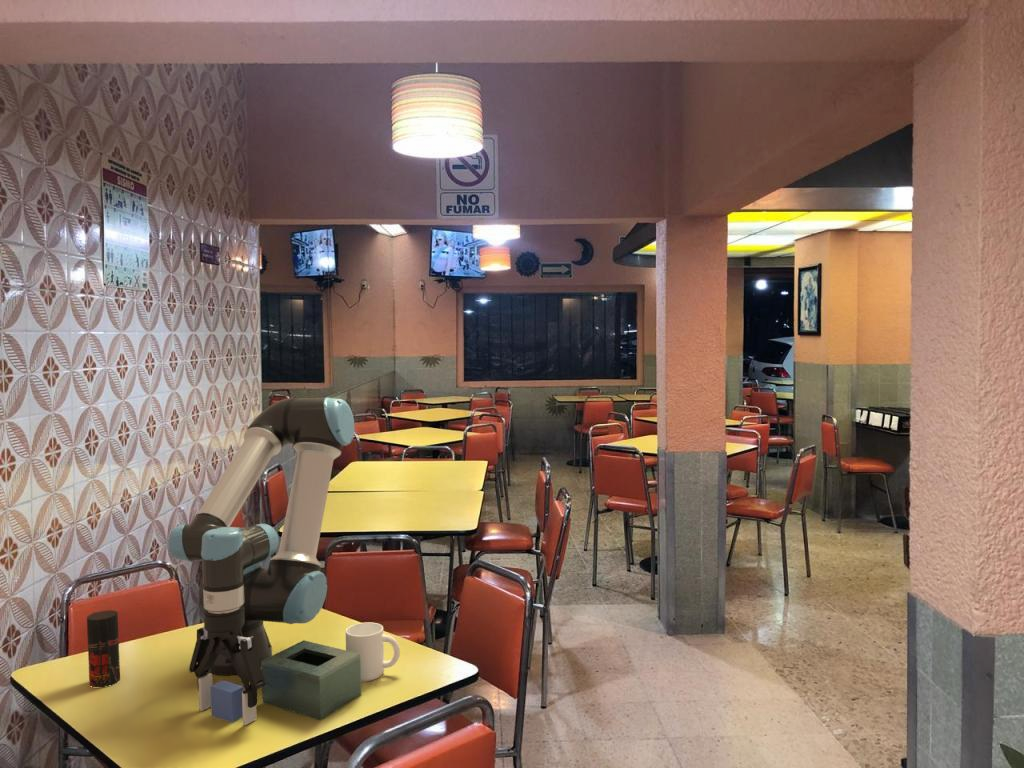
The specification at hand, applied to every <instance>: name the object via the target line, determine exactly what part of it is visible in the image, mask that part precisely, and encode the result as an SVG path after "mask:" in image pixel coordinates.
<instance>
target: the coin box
mask: <svg viewBox="0 0 1024 768" xmlns="http://www.w3.org/2000/svg"><path fill="white" fill-rule="evenodd" d="M261 669H262V673H263V676H264V679H265V683H266V685H265V686H263V687H261V692H262V693H261V695H262V697H261V700H262V703H263V704H265V705H269V706H272V707H275V708H279V709H282V710H286V711H289V712H292V713H294V714H295V713H296V714H299V715H302V716H305V717H308V718H311V719H315V720H318V721H322V720H323V719H326V718H327V717H328V716H330V715H331V714H334V713H335V712H336V711H339V710H340V709H341V708H343V707H344V706H346V705H347V704H349V703H351V702H352V701H354V700H355V699H357V698H358V697H360V696H361V695H362V682H361V669H360V654H359V653H355V652H351V651H346V649H342V648H338V647H334V646H333V647H332V646H330V645H325V644H321V643H317V642H313V641H308V640H301V641H299V642H297V643H296V644H293V645H291V646H289V647H287V648H285V649H282V650H281V651H279V652H277V653H275V654H272V656H270V657H268V658H266V659H264V660H262V661H261Z"/></svg>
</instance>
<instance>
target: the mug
mask: <svg viewBox="0 0 1024 768" xmlns="http://www.w3.org/2000/svg"><path fill="white" fill-rule="evenodd" d="M385 643H388V644H389V645H391V646H392V649H393V654H392V658H391V659H390V660H385V649H384V647H385V645H384V644H385ZM400 648H401V647H400V644H399V643H398V641H397V640H396V639H395V637H393V636H391V635H389V634H385V633H384V626H383V624H380V623H376V622H369V621H368V622H359V623H355V624H352V625H350V626H348V627H346V629H345V650H346V651H351V652H355V653H359V654H360V669H361V683H362V682H364V683H365V682H371V681H374V680H377V679H379V678H380V677H381V676H382V675H383V673H385V671H384V670H385V669H387V668H391V667H393V666H394V665H395V664H396V663H397V662H398V661H399V658H400V656H401V655H400V654H401V651H400V650H401V649H400Z"/></svg>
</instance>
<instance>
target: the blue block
mask: <svg viewBox="0 0 1024 768" xmlns="http://www.w3.org/2000/svg"><path fill="white" fill-rule="evenodd" d="M244 690H245V689H244V686H243V685H239V684H237V683H233V682H230V681H226V680H221V681H218V682H217V683H214V684H212V686H211V707H210V708H211V709H210V710H211V711H210V712H211V717H213V718H217V719H220V720H223V721H227V722H230V723H235V722H236V721H238V720H240V719H241V718H242V719H243V711H242V691H244Z"/></svg>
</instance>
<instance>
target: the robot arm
mask: <svg viewBox="0 0 1024 768" xmlns="http://www.w3.org/2000/svg"><path fill="white" fill-rule="evenodd" d="M354 435H355V419H354V414H353V411H352V409H351V407H350V405H349V403H347V402H346V401H345V400H344V399H341V398H333V397H324V398H321V397H317V398H315V397H312V398H311V397H307V398H305V397H302V398H301V397H299V398H297V397H289V398H284V399H281V400H279V401H276V402H275V403H273V404H272V405H270V406H268V407H267V408H265V409H264V410H262V412H261V413H259V414H258V415H257V416H256V417H255V418H254V419H253V421H252V422H250V424H249V426H248V427H247V428H246V430H245V431H244V433H243V442H242V443H241V446H240V447H239V448H238V450H237V451H236V453H235V455H234V456H233V458H232V460H231V461H230V462H229V464H228V466H227V467H226V468H225V470H224V472H223V473H222V475H221V476H220V478H219V480H217V483H216V484H215V485H214V487H213V488H212V490H211V492H210V493H209V494H208V496H207V498H206V499H205V501H204V503H203V504H202V506H201V507H200V508H199V509H198V511H197V513H196V514H195V516H194V518H193V519H192V521H191V522H190V523H184V524H179V525H177V526H176V527H174V528H172V530H171V532H170V533H169V537H168V541H167V550H168V552H169V553H170V556H171V557H173V558H174V559H176V560H179V561H180V560H182V561H187V562H201V564H202V565H201V566H202V579H203V580H202V583H203V584H202V588H203V589H202V592H203V609H204V612H203V627H200V628H198V629H197V630H196V641H195V645H194V649H193V652H192V657H191V660H190V664H189V668H188V671H189V672H190V674H191V673H194V674H195V677H196V678H197V679H196V680H197V684H196V685H197V692H198V707H199V709H198V710H199V711H201V712H202V711H204V710H206V709H209V708H211V686H212V685H213V674H214V675H221V676H223V675H224V676H228V675H237V676H238V678H239V680H240V682H241V684H242V686H244V691H242V711H243V717H242V725H244V726H248V724H251V723H252V722H254V721H256V720H257V705H258V701H259V700H258V690H259V689H262V687H263V686H265V685H266V683H265V679H264V676H263V673H262V669H261V661H262V660H264V659H266V658H268V657H270V656H272V655H273V647H272V644H271V642H270V639H269V636H268V633H267V631H266V629H265V626H264V625H265V624H264V622H270V623H271V622H272V623H283V624H288V625H293V624H308V623H310V622H311V621H313V620H314V619H315V617H316V616H317V615H318V614H319V613H320V611H321V610H322V608H323V606H324V604H325V601H326V597H327V592H328V584H327V582H328V581H327V576H326V575H325V574H324V573H323V572H321V567H322V564H321V563H320V562H319V560H318V559H317V553H318V547H319V542H320V541H319V540H320V536H321V532H322V531H321V530H322V525H323V520H324V514H325V510H326V503H327V498H328V492H329V486H330V481H331V475H332V471H333V465H334V460H335V459H338V457H340V456H341V455H342V450H343V446H348V445H350V444H351V443H352V441H353V439H354ZM287 445H292V446H293V450H295V451H296V453H297V457H296V459H297V460H296V463H295V468H294V474H293V479H292V482H291V483H292V484H291V487H290V488H291V489H290V493H289V496H288V497H289V498H288V503H287V507H286V513H285V518H284V521H283V522H284V523H283V527H282V534H281V539H280V540H279V535H278V533H277V531H276V530H275V528H274V527H272V525H269V524H267V523H258V524H254V525H251V526H249V527H248V526H247V527H244V526H241V527H239V526H231V525H232V523H233V522H234V520H235V518H237V516H238V514H239V512H240V510H241V509H242V507H244V506H243V505H244V504H245V502H246V501H247V499H248V497H249V496H250V494H251V492H252V490H253V489H254V487H255V485H256V483H257V482H258V481H259V479H260V477H261V476H262V474H263V472H264V471H265V470H266V468H267V466H268V464H269V463H270V461H271V458H273V457H274V456H277V455H278V454H280V452H282V449H283V448H284V447H285V446H287ZM279 541H280V542H279ZM278 547H279V548H278ZM277 550H278V552H277V554H275V553H276V551H277ZM274 554H275V555H274ZM272 555H274V556H272ZM271 556H272V557H271ZM270 557H271V558H270ZM269 558H270V559H269ZM267 559H269V564H268V567H267V568H264V567H263V563H262V562H263V561H265V560H267Z"/></svg>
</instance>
